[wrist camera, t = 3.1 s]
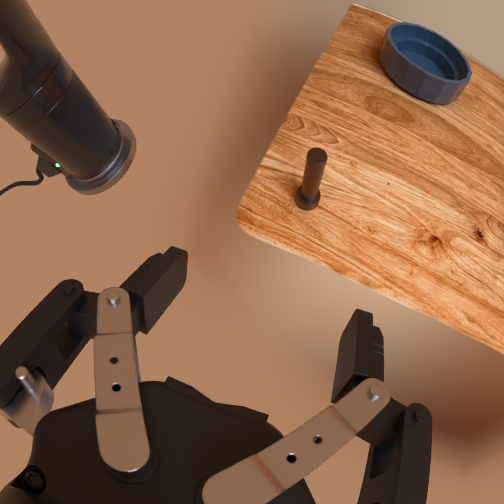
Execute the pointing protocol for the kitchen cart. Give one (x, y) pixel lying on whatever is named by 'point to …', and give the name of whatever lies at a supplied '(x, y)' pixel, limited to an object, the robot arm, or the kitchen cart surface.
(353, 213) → the kitchen cart surface
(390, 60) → the bowl
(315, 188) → the brown rubber stamp
